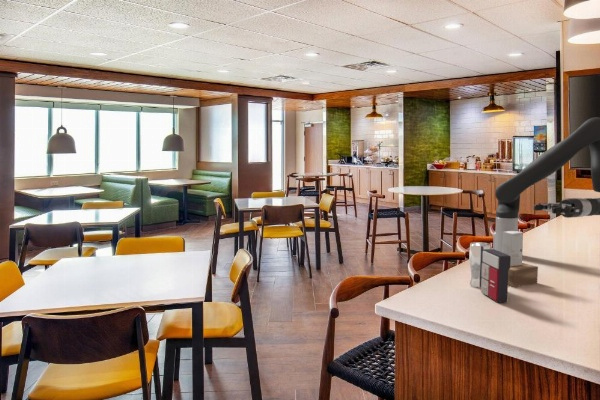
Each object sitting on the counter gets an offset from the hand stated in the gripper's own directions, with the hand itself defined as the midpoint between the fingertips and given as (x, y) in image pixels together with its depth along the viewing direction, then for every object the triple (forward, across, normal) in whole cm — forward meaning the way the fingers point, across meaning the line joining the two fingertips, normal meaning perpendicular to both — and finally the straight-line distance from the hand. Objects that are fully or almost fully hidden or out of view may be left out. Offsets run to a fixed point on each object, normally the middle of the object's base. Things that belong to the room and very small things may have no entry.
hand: (543, 209), depth 176 cm
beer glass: (+33, +5, +26) cm, 42 cm away
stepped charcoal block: (+38, +18, +26) cm, 49 cm away
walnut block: (+18, +5, +25) cm, 31 cm away
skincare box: (+18, +4, +20) cm, 27 cm away
